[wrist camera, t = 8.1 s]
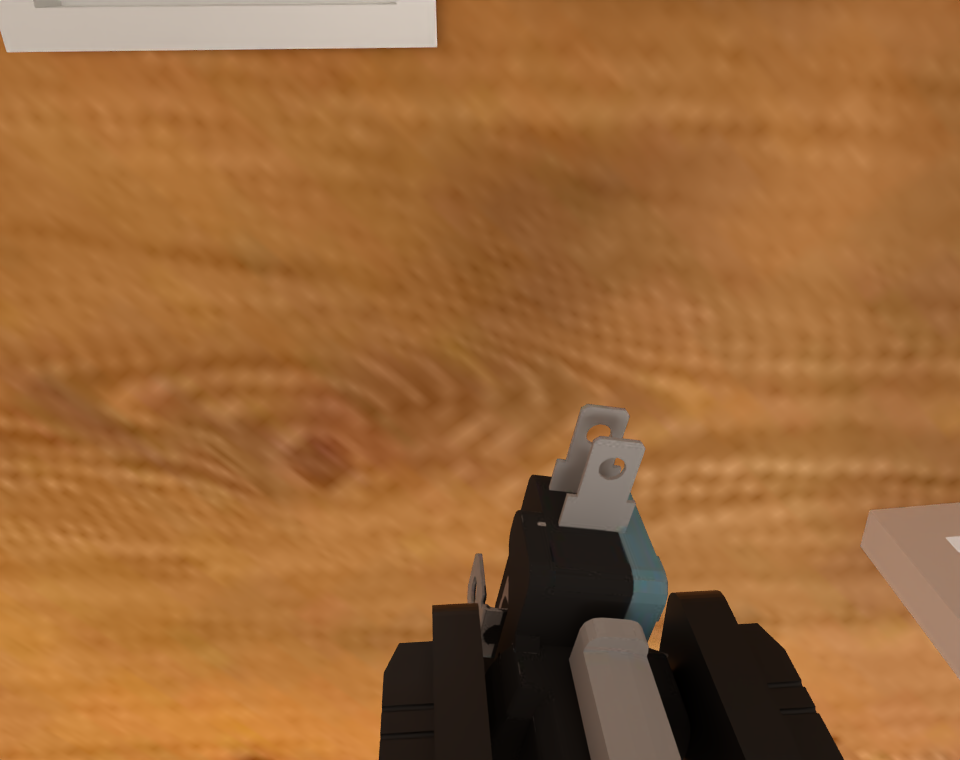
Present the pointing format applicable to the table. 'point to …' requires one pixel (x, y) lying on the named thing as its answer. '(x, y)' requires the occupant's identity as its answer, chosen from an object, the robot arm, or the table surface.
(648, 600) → the push button
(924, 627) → the bookend
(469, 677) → the robot arm
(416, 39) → the tray
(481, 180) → the table surface
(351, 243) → the table surface
